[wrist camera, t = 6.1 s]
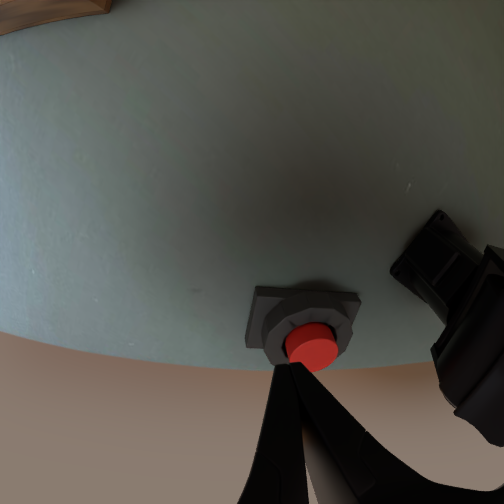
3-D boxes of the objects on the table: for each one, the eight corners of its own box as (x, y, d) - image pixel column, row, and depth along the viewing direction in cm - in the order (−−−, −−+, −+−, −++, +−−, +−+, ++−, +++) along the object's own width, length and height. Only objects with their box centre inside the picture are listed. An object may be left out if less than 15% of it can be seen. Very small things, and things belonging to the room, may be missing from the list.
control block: (359, 285, 22) (374, 309, 20) (334, 345, 25) (344, 370, 22) (256, 278, 21) (262, 305, 18) (243, 343, 24) (246, 371, 21)
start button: (337, 321, 20) (345, 338, 19) (323, 355, 22) (329, 372, 20) (291, 320, 20) (296, 338, 18) (280, 355, 21) (284, 373, 20)
